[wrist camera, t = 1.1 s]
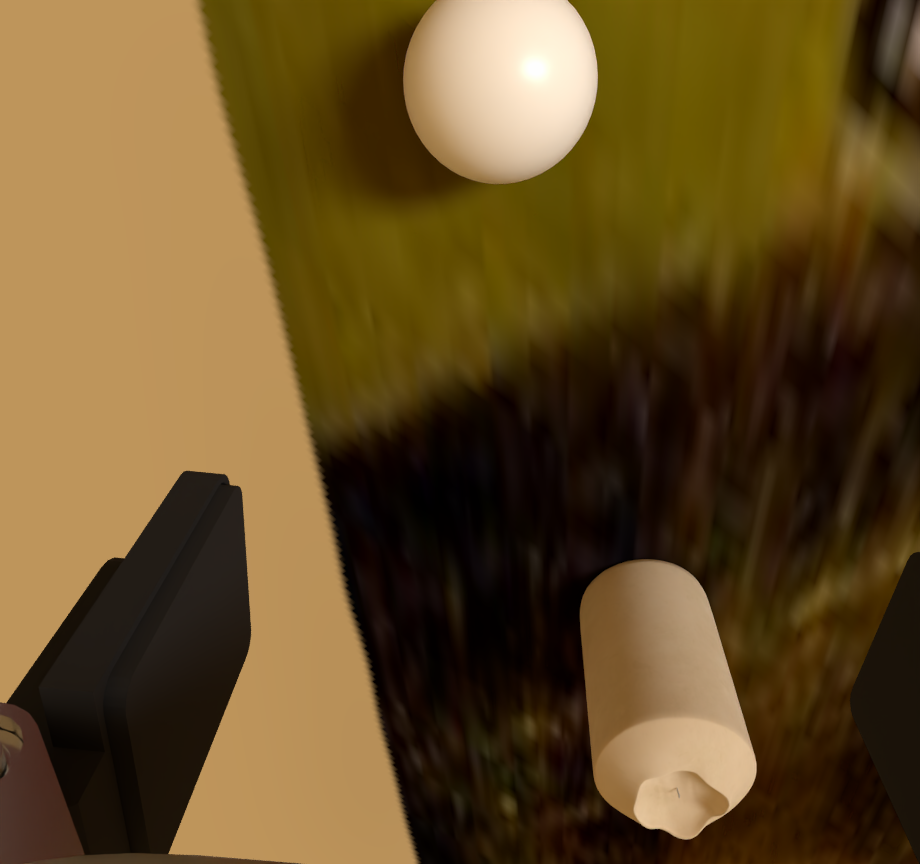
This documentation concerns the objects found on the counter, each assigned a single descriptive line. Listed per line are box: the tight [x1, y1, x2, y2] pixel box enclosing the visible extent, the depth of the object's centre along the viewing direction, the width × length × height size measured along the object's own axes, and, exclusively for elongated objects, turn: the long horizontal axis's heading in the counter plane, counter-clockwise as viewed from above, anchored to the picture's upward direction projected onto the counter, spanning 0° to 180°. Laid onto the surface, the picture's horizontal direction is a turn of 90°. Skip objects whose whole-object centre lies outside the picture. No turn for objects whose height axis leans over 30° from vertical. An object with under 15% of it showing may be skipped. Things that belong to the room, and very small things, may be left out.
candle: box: [580, 559, 756, 840], centre depth 31 cm, size 6×6×10 cm
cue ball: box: [403, 0, 598, 184], centre depth 23 cm, size 6×6×6 cm
